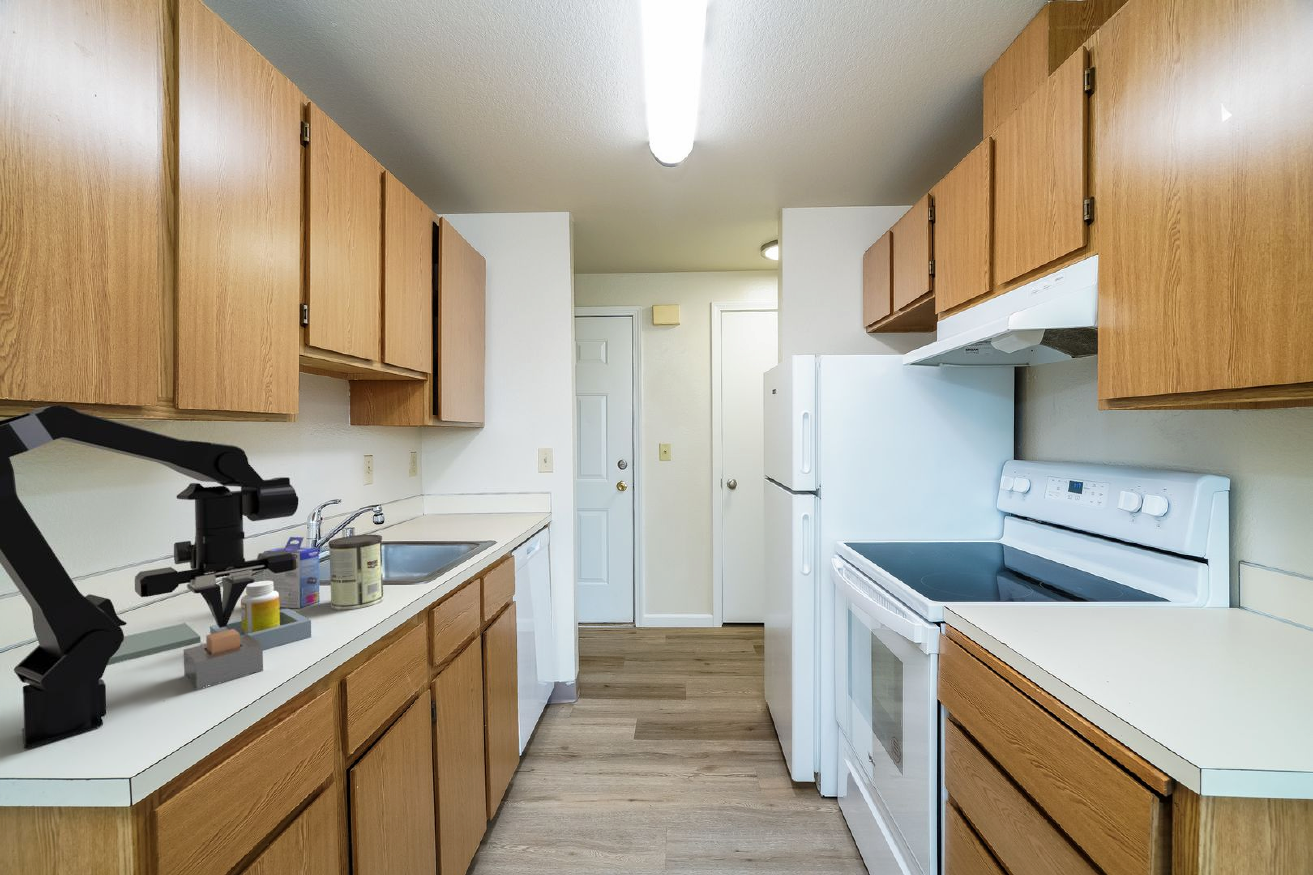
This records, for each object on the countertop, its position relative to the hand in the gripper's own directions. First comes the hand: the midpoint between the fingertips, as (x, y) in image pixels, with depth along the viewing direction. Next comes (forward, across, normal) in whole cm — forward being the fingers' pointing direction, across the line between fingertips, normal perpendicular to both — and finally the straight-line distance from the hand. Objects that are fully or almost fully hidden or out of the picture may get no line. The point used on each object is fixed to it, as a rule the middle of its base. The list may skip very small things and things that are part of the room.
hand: (222, 626), depth 83 cm
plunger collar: (+7, 0, 0) cm, 7 cm away
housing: (+7, -8, -12) cm, 16 cm away
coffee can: (+7, -28, -21) cm, 36 cm away
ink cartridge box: (+7, -19, -32) cm, 38 cm away
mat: (+7, +5, -26) cm, 27 cm away
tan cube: (+4, 0, 0) cm, 4 cm away
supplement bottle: (+7, -8, -12) cm, 16 cm away
